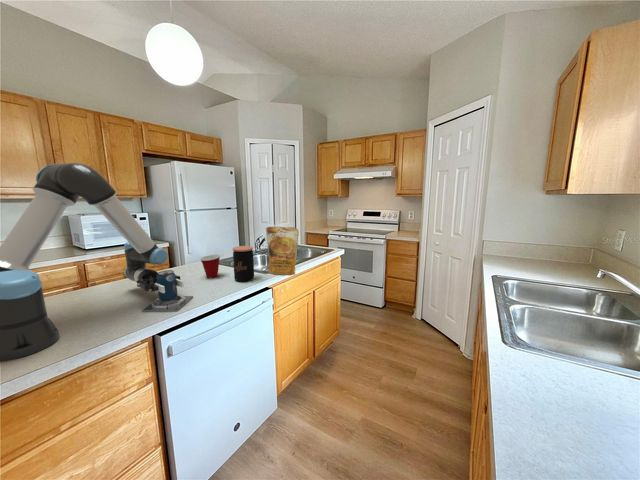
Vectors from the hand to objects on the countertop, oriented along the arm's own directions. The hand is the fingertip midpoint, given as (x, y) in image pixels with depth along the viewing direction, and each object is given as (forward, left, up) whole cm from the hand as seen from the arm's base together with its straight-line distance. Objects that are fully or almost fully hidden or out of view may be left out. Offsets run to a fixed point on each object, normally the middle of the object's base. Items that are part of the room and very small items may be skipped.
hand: (173, 286), depth 106 cm
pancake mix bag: (+40, +45, -9) cm, 61 cm away
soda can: (-4, +3, -7) cm, 8 cm away
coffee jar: (+20, +35, -9) cm, 41 cm away
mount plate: (-4, +3, -9) cm, 10 cm away
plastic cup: (0, +40, -9) cm, 41 cm away
